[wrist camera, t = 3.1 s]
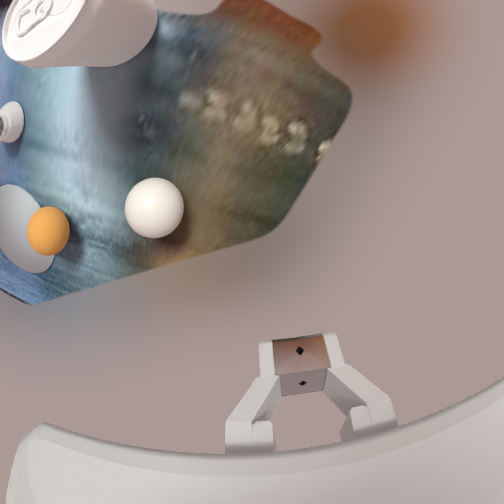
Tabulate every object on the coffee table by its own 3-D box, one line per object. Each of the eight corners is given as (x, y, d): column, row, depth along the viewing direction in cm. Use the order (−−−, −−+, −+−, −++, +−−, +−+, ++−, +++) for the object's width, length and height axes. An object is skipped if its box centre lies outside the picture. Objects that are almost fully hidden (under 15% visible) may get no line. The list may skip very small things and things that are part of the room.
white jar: (1, 104, 17) (2, 142, 20) (-15, 109, 15) (-13, 150, 18) (26, 97, 18) (26, 138, 21) (9, 101, 15) (11, 145, 18)
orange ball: (37, 203, 25) (11, 226, 20) (67, 193, 25) (41, 216, 20) (53, 241, 28) (32, 267, 23) (83, 235, 28) (62, 263, 23)
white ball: (130, 176, 24) (107, 198, 20) (182, 165, 24) (167, 185, 20) (144, 224, 27) (127, 253, 23) (193, 216, 27) (184, 245, 23)
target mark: (-21, 198, 23) (-22, 199, 23) (30, 171, 23) (29, 171, 22) (15, 275, 31) (14, 276, 31) (70, 267, 30) (70, 268, 30)
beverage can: (165, 51, 18) (102, 28, 8) (87, 79, 18) (0, 91, 8) (155, -18, 13) (100, -69, 3) (80, 13, 14) (-1, -2, 4)
